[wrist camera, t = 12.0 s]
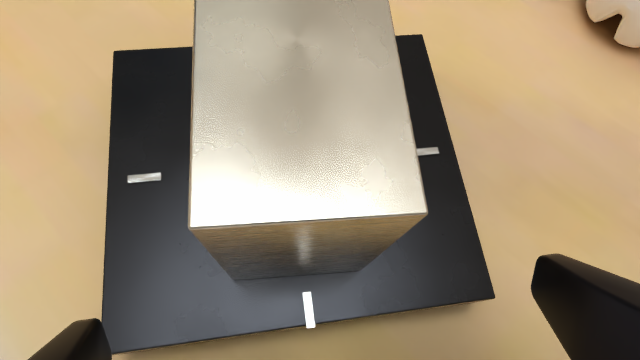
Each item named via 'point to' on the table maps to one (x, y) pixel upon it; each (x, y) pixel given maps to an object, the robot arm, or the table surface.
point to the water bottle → (635, 27)
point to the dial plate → (274, 292)
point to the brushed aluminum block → (299, 136)
